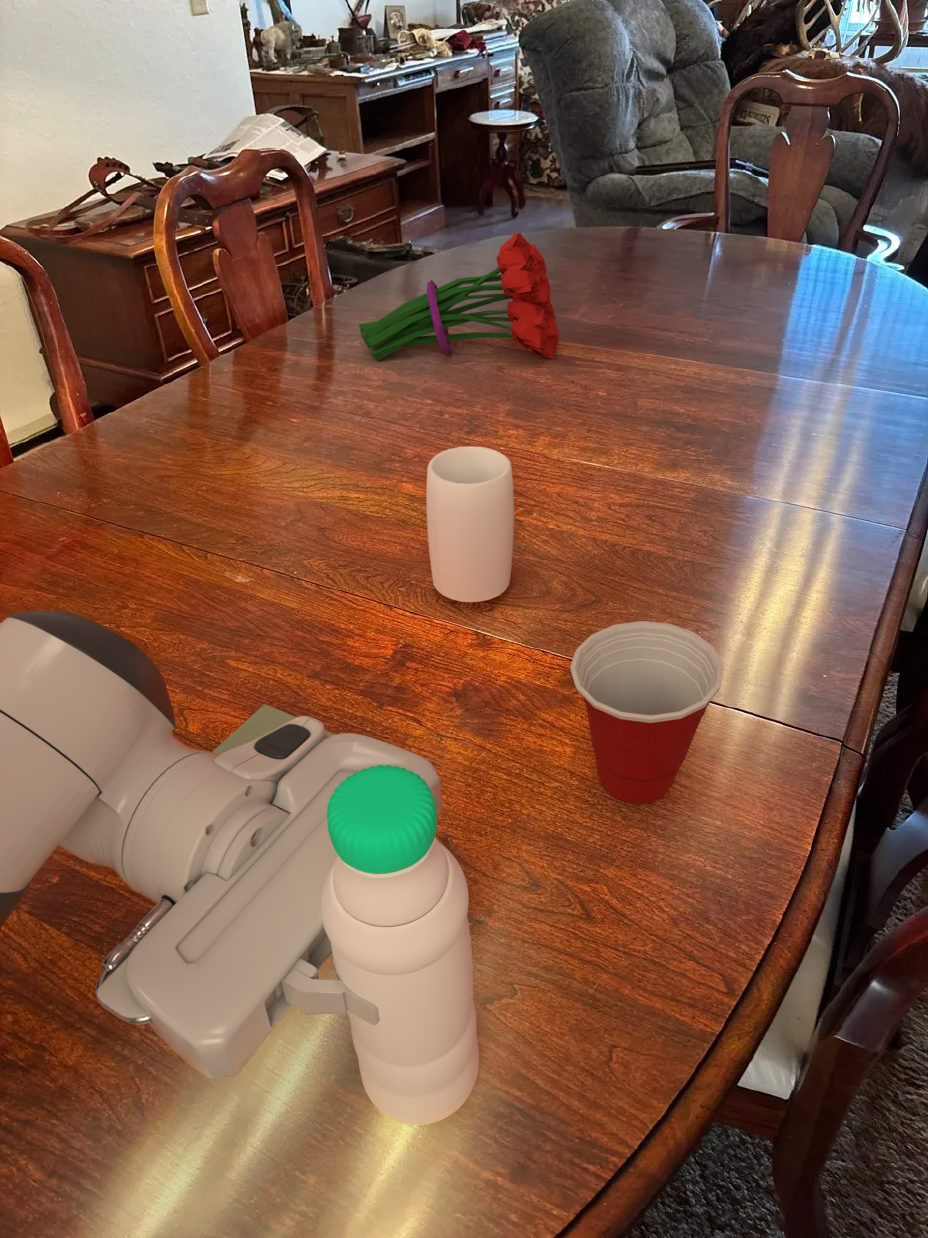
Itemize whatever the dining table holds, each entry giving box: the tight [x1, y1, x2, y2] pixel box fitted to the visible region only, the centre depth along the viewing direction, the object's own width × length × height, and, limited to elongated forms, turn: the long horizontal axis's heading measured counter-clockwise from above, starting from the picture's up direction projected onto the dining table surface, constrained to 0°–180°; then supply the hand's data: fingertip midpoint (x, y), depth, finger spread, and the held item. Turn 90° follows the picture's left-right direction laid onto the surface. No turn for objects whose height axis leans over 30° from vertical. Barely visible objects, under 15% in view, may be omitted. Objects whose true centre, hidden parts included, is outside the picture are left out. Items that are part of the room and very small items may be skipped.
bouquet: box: [358, 230, 560, 362], centre depth 139 cm, size 20×16×30 cm
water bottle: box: [321, 764, 480, 1126], centre depth 47 cm, size 7×7×25 cm
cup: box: [425, 445, 515, 603], centre depth 90 cm, size 8×8×14 cm
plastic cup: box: [569, 620, 724, 805], centre depth 70 cm, size 11×11×12 cm
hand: (423, 949), depth 47 cm, fingers closed on water bottle, 5 cm apart
